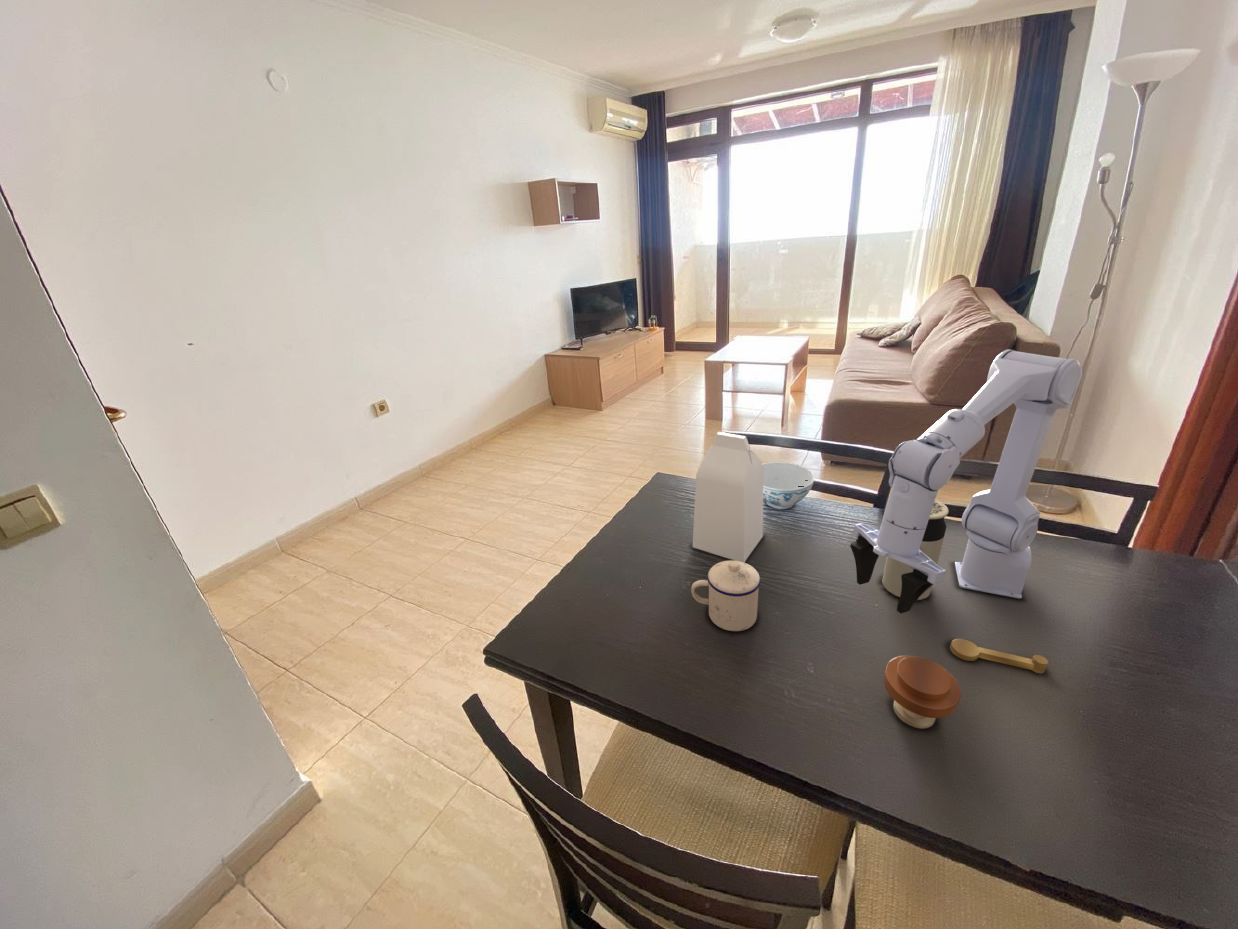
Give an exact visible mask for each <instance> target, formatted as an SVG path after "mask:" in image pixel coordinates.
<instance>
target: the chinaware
mask: <svg viewBox="0 0 1238 929" xmlns="http://www.w3.org/2000/svg"><path fill="white" fill-rule="evenodd" d="M762 464H763V501H764V502H765V503H766V504H767V506H769V507H771V508H774V509H776V510H777V509H778V510H786V509H790V508H792V507H793V506H794V505H795V504H797V503H799V502H801V501H802V500H803V499H805V498H806V497H807V495H808V494H810V491H811V490H812V488H813V486H814V482H815V475H814V473H813V472H812V470H810V469H808V468H806V467H804V466H802V465H799V464H795V463H792V462H786V461H785V462H783V461H782V462H781V461H772V462H765V463H762ZM805 480H808V481H805ZM798 486H804V487H798Z"/></svg>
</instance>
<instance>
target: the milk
mask: <svg viewBox="0 0 1238 929" xmlns="http://www.w3.org/2000/svg"><path fill="white" fill-rule="evenodd" d="M750 446H751V445H750V444H749V441H748V438H747V436H746V435H740V434H735V433H728V432H724V431H723V432H722V431H718V432H717V433H715V436H714V438H713V439H712V442H711V443H710V446H709V447H708V449H707V451H706V453H705V455H704V457H703V459H702V460H701V462H700V464H699V466H698V468H697V471H696V476H695V488H694V489H695V490H694V509H693V513H694V514H693V529H692V548H693V549H697V550H700V551H703V552H706V553H710V554H713V555H715V556H720V557H721V558H722V557H723V558H726V559H728V560H732V561H740V562H744V563H746V561H747V560H748V558H749V557H750V555H751V554H752V552H753V551H754V549H755V548H756V547H757V546H758V544H759V543H760V541H761V540H762V539H763V537H764V500H763V464H764V463H763V461H762V460H761V458H760V457H759V456H758V455H757V454H756V453H755V451H753V450H752V449H751V447H750Z"/></svg>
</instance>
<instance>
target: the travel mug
mask: <svg viewBox="0 0 1238 929" xmlns="http://www.w3.org/2000/svg"><path fill="white" fill-rule="evenodd" d="M949 512H950V510H949V508H948V507H947V505H946V504H944V503H943V502H941V501H940V500H938V499H935V501H934V505H933V508H932V511H931V514H930V517H929V520H928V523H927V527H926V530H925V533H924V536H923V539H922V542H921V545H920V548H919V549H920V550H921V551H922V552H923V553H924V554H925V555H926V556H928V557H929V558H930V559H931V560H932V561H933V562H935V563H936V564H937V565H938V562H939V559H940V555H941V551H942V548H943V543H944V539H945V535H946V531H947V524H946V521H945V517H947V516H948V514H949ZM885 560H886V561H885V565H884V570H883V575H882V580H881V582H882V586H883V587H884V588H885V589H886V590H887V592H889V593H890V594H892V595H894V596H896V597H898V598H900V595H901V589H902V579H901V576H902V574H905V573H909V572H913V569H911V568H910V567H908V566H906V565H905V564H903V563H901V562H899V561H897V560H894V559H892V558H889V557H886V559H885ZM932 588H933V585H932V586H931V587H930V588H928V589H927V590H926V591H925V592H924V593H923V594H922V595H921V596H920V597H919V598H918V599H917V601H920V600H924V599H927V598H928V597H929V596H930V594H931V591H932Z"/></svg>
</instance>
